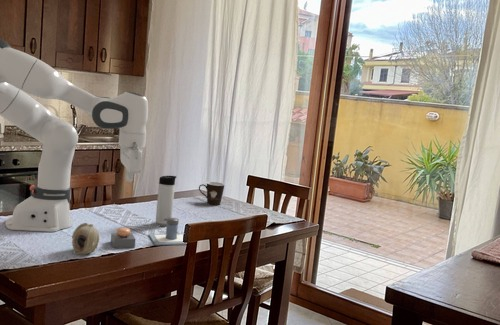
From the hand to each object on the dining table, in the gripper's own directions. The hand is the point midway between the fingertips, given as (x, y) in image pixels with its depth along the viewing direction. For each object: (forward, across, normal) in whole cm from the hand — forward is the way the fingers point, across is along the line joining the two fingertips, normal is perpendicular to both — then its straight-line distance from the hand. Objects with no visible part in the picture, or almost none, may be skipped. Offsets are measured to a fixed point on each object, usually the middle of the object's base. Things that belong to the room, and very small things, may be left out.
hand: (129, 181), depth 177 cm
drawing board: (+22, +3, -17) cm, 28 cm away
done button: (+21, -1, +1) cm, 21 cm away
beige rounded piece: (+22, -8, +14) cm, 27 cm away
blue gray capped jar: (+21, +3, -17) cm, 28 cm away
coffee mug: (+22, +59, -51) cm, 81 cm away
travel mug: (+22, +23, -19) cm, 37 cm away
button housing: (+22, -1, 0) cm, 22 cm away
